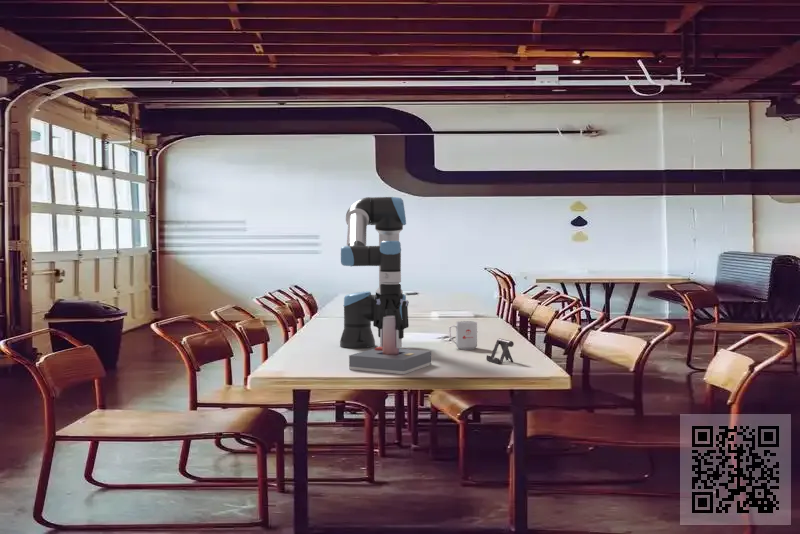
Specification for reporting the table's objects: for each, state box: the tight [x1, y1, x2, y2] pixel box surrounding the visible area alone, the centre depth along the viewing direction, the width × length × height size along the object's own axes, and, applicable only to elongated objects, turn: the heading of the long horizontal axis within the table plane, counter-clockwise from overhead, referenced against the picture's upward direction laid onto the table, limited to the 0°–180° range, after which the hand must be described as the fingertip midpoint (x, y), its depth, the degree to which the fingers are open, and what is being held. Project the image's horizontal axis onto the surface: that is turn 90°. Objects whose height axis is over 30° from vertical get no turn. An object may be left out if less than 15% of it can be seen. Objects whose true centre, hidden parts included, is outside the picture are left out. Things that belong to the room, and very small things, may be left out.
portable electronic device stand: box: [486, 338, 515, 365], centre depth 283 cm, size 9×8×8 cm
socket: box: [348, 346, 432, 375], centre depth 273 cm, size 22×22×6 cm
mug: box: [448, 320, 478, 351], centre depth 317 cm, size 12×9×11 cm
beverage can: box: [383, 316, 400, 356], centre depth 272 cm, size 6×6×15 cm
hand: (390, 346), depth 272 cm, fingers closed on beverage can, 6 cm apart
